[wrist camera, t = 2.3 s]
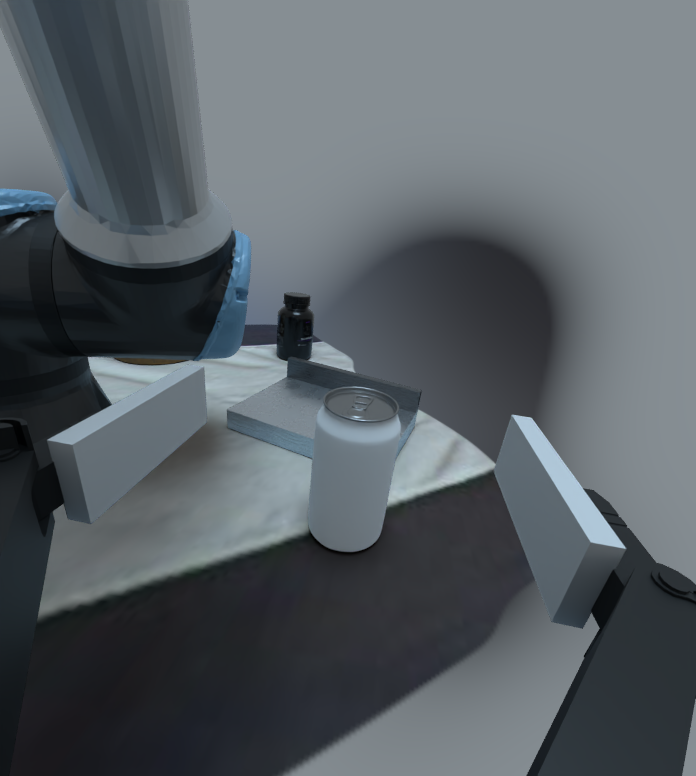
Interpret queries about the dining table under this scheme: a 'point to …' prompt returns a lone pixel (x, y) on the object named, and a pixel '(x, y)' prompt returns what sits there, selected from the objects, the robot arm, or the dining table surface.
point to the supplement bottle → (295, 327)
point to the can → (352, 467)
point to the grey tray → (310, 405)
